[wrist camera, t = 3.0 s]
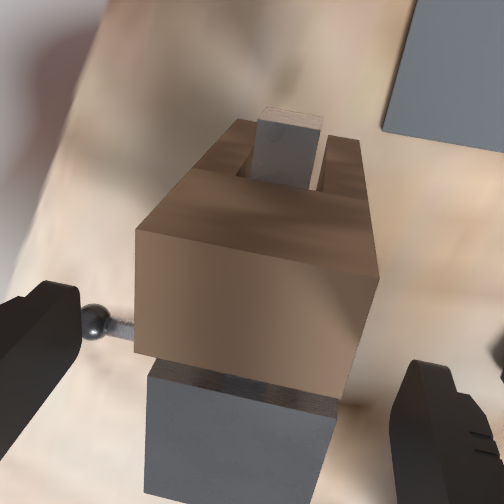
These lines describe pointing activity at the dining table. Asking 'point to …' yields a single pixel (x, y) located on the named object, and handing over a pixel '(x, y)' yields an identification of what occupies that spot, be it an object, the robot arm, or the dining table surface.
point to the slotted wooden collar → (258, 269)
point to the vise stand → (234, 386)
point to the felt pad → (452, 75)
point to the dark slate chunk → (502, 376)
